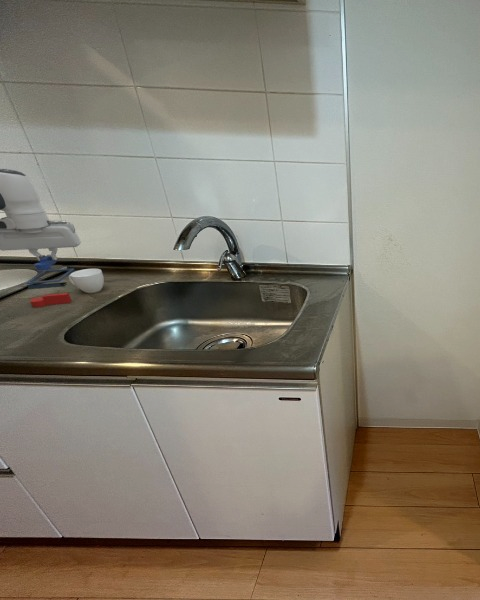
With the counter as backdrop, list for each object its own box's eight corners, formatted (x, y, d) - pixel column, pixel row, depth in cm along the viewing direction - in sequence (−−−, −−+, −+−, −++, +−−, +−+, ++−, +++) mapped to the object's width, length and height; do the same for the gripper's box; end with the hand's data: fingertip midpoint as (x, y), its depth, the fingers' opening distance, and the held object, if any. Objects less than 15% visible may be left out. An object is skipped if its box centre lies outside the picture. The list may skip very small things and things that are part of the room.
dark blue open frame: (61, 286, 108) (58, 280, 106) (29, 289, 104) (25, 282, 103) (76, 274, 117) (73, 268, 116) (47, 276, 114) (44, 270, 113)
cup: (95, 295, 103) (88, 277, 100) (64, 294, 103) (55, 275, 100) (114, 286, 110) (107, 269, 107) (84, 285, 110) (77, 267, 107)
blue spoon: (47, 262, 111) (44, 254, 110) (60, 261, 113) (56, 254, 111) (34, 271, 104) (30, 262, 103) (48, 270, 105) (44, 261, 104)
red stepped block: (73, 299, 100) (69, 291, 99) (68, 304, 97) (64, 295, 96) (36, 303, 96) (31, 294, 95) (30, 308, 94) (25, 299, 92)
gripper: (75, 218, 110) (90, 255, 116) (-7, 220, 101) (13, 259, 107) (67, 222, 105) (83, 260, 111) (-20, 224, 96) (2, 265, 102)
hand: (48, 260), depth 109 cm, fingers closed on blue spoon
